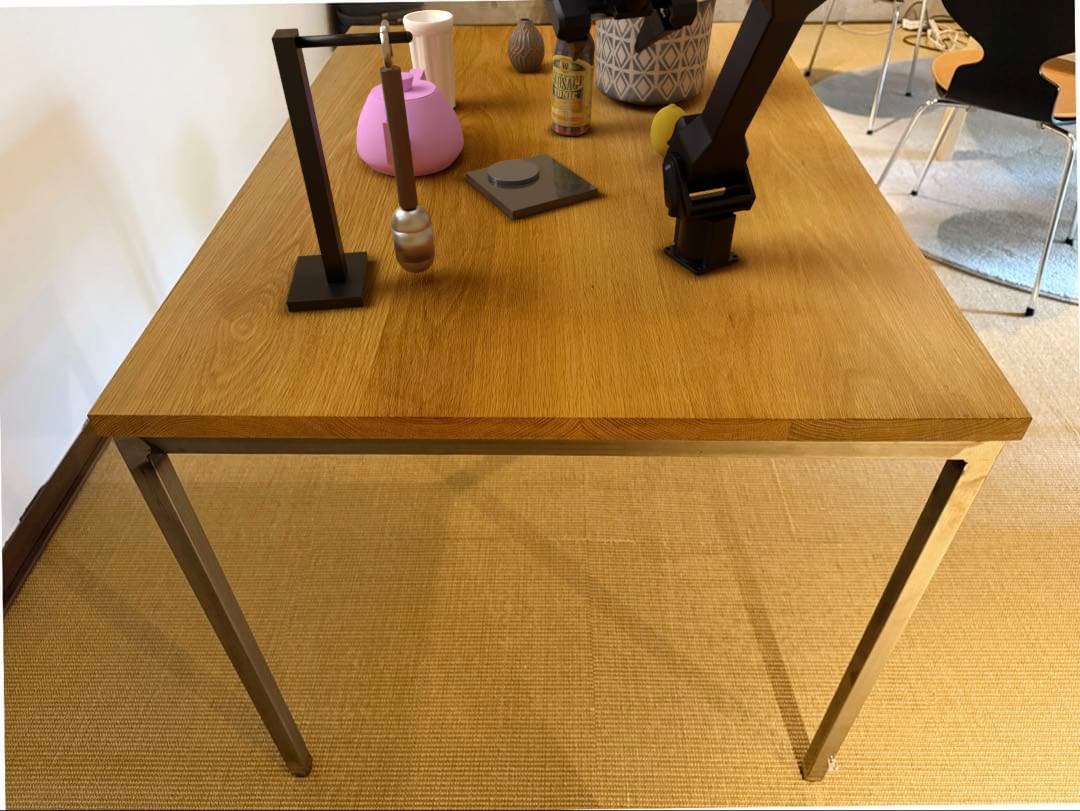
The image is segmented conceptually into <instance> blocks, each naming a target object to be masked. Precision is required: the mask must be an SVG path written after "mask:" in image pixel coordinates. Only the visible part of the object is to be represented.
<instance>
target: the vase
mask: <svg viewBox="0 0 1080 811" xmlns="http://www.w3.org/2000/svg"><path fill="white" fill-rule="evenodd" d="M545 48H546V47H545V41H544V38H543V35H542V33H541V32H540V31H539V29H538V27H537V26H536V25H535V23H534V21H533V19H532V18H531V17H521V18H519V19H518V22H517V24H516V26H515V28H514V29H513V30H512V31H511V34H510V36H509V39H508V43H507V54H508V60H509V62H510V64H511V66H512V68H513V69H514V70H516V71H517V72H519V73H526V74H528V73H535V72H536V71H537V70H539V68H540V67H541V66H542V64H543V62H544V59H545V52H546V49H545Z"/></svg>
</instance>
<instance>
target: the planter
mask: <svg viewBox="0 0 1080 811" xmlns="http://www.w3.org/2000/svg"><path fill="white" fill-rule="evenodd" d="M716 2H717V0H698V3H699V12H698V14H697V16H696V18H695V20H694V22H693V24H692V25H690V26H683V28H682V29H681V30H677V31H675V32H673V33H671V34H669V35H668V36H666V37H664V38H662V39H661V40H659V41H657V42H656V43H654V44H653V45H651V46H650V47H648V48H646V49H645V50H643V51H642V52H640V53H636V51H635V48H634V46H635V42H636V39H637V36H638V34H639V31H640V29H641V26H642V24H643V21H644V19H645V17H639V18H631V19H622V20H614V19H606V20H597V21H595V85H596V88H597V90H599V92H600V93H601V94H602V95H604V96H606V97H608V98H609V99H613V100H615V101H619V102H623V103H629V104H634V105H639V106H662V105H670V104H675V103H680V102H684V101H688V100H690V99H692V98H695V97H696V96H698V95H699V94H700V93H701V92H702V90H703V88H704V85H705V78H706V72H707V65H708V64H707V63H708V57H709V50H710V45H711V44H710V43H711V38H712V30H713V25H714V24H713V23H714V16H715V10H716V9H715V8H716V5H717V4H716Z"/></svg>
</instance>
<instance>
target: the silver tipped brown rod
mask: <svg viewBox="0 0 1080 811" xmlns="http://www.w3.org/2000/svg"><path fill="white" fill-rule="evenodd" d="M379 32H380V37H381V44H380V45H381V50H382V58H383V64H384V65H382V66H381V67H380V68H379V77H380V84H382V91H383V97H384V104H385V111H386V118H387V125H388V131H389V138H390V145H391V152H392V159H393V165H394V172H395V176H394V179H395V185H396V192H397V199H398V204H399V205H398V207H397V208H395V210H394V211H393V213H392V214H391V215H392V216H391V218H390V219H391V220H390V228H391V234H392V240H393V247H394V253H395V258H396V261H397V263H398V266H400V267H401V268H402V270H405V271H406V272H407V273H411V274H420V273H421V274H422V273H424V272H426V271H427V270H429V269H430V268H431V267H432V266H433V264H434V262H435V259H436V246H435V239H434V231H433V230H434V229H433V221H432V218H431V215H430V213H429V212H428V210H427V209H426V208H424V207H423V206H422V205H420V204H419V201H418V200H419V199H418V193H417V192H418V190H417V185H416V184H417V182H416V178H415V177H416V176H414V168H413V160H412V152H411V145H410V137H409V129H408V121H407V114H406V106H405V98H404V90H403V83H402V75H401V72H402V68H401V67H400V66H399V65H395V64H394V52H393V44H389V38H388V32H391V29H390V23H389V21H388V20H387V19H383V20H381V22H380V28H379Z"/></svg>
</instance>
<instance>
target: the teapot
mask: <svg viewBox="0 0 1080 811" xmlns="http://www.w3.org/2000/svg"><path fill="white" fill-rule="evenodd" d="M401 75H402V83H403V90H404V98H405V106H406V114H407V121H408V129H409V137H410V145H411V152H412V160H413V168H414V176H415V177H421V176H427V175H431V174H435V173H438V172H440V171H443V170H445V169H447V168H449V167H450V166H451V165H453V163H454V162H455V160H456V159H457V158H458V157H459V155H460V154H461V153H462V151H463V148H464V144H465V139H464V132H463V129H462V124H461V122H460V120H459V117H458V115H457V112H456V111H455V109H454V108H452V106H451V105H450V103H449V102H448V101H447V99H446V98H445V96H444V95H443V94H442V92H441V91H440V90H439V89H438V88H437V87H436V85H434V84H433V83H431V82H429V81H427V80H426V75H425V71H424V69H413V68H410V69H409V71H408V72H407V71H401ZM355 140H356V150H357V154H358V155H359V157H360V159H361V160H363V161H364V163H366V165H368V166H369V167H370V168H371V169H373V170H374V171H376V172H378V173H380V174H382V175H386V176H391V177H395V172H394V165H393V159H392V152H391V145H390V138H389V131H388V125H387V118H386V111H385V104H384V97H383V91H382V84H381V83H379V84H377V85H376V86H374V87H373V88H372V89H371V90H370V92H369V94H368V96H367V98H366V100H365V102H364V104H363V106H362V109H361V112H360V115H359V119H358V121H357V127H356V138H355Z"/></svg>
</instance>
